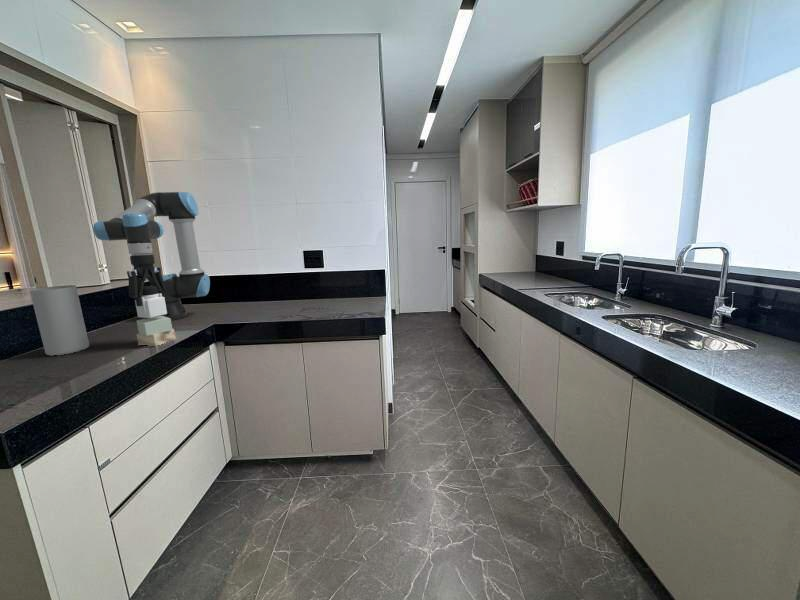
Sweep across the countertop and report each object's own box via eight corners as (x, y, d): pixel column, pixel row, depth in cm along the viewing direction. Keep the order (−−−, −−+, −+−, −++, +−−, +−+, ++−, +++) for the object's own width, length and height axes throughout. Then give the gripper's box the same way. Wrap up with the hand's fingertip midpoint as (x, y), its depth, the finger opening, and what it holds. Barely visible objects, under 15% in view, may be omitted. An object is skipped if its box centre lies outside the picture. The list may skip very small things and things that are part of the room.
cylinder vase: (95, 348, 136) (81, 286, 132) (52, 358, 126) (35, 291, 121) (82, 344, 143) (69, 284, 138) (41, 353, 132) (24, 289, 127)
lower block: (159, 339, 146) (157, 327, 145) (176, 340, 143) (174, 328, 142) (138, 346, 138) (136, 334, 137) (155, 347, 135) (153, 335, 134)
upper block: (163, 327, 146) (162, 315, 145) (172, 330, 140) (170, 318, 139) (138, 332, 139) (136, 320, 138) (146, 335, 133) (144, 323, 132)
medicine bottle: (167, 313, 140) (162, 284, 138) (150, 318, 134) (144, 287, 131) (155, 313, 143) (150, 284, 140) (137, 317, 136) (131, 287, 134)
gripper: (127, 256, 123) (139, 317, 127) (170, 252, 143) (179, 305, 148) (108, 256, 124) (120, 317, 128) (153, 253, 144) (163, 305, 148)
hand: (152, 311), depth 138 cm, fingers closed on medicine bottle, 8 cm apart
